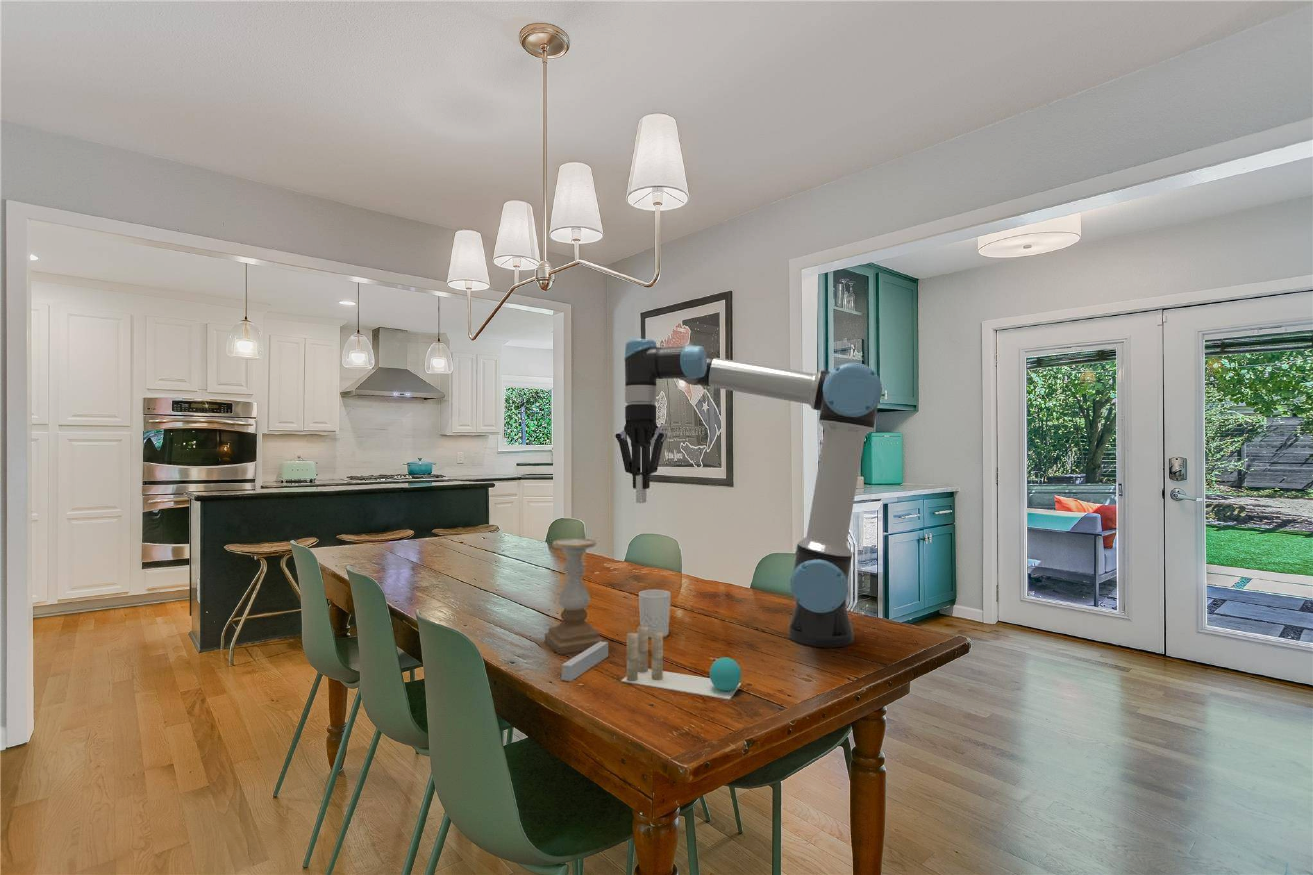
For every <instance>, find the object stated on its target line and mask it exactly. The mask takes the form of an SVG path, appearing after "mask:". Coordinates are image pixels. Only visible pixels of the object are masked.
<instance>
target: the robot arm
mask: <svg viewBox="0 0 1313 875" xmlns="http://www.w3.org/2000/svg"><path fill="white" fill-rule="evenodd" d="M624 352H625V354H624V359H623V360H624V371H625V372H624V377H625V379H624V383H625V384H624V385H625V388H624V396H625V397H624V402H625V403H626V404H627V405H626V406H624V414H625V416H624V417H625V423H624V427H623V430H622V431H621V432H619V433H616V434H615V435H614V437H615V438H616V440H617V442H618V445H619V448H620V453H621V457H622V463H623V466H624V467H623V468H624V471H625V473H628V474H630V475H631V476H632V488H633V489H634V490H635V504H646V503H647V489H648V490H649V489H650V484H651V482H650V480H651V478H650V477H651V475H652V474H654V473H657V472H658V470H659V469H658V468H659V465H660V464H659V463H660V459H661V455H662V451H663V444H664V442H665V441H666V439H667V438H668V433H666V432H662V431H661V430H660V429H659V426H658V424H657V406H656V403H657V380H663V379H664V380H665V379H668V380H669V379H670V380H671V379H673V380H674V379H678V380H681V381H682V382H684V383H686V384H688V385H692V386H703V387H709V388H716V389H721V390H726V391H733V392H738V393H744V394H750V395H754V396H759V397H766V398H772V399H778V400H784V401H789V402H793V403H800V404H803V405H805V404H806V405H809V406H810V408H811V409H812V410H815V411H819V412H820V413H819V420H818V423H819V424H820V425H821V427H822V428H823V430H824V431H823V437H822V444H821V450H820V455H819V460H818V461H819V462H818V468H817V471H816V472H817V473H816V478H815V484H814V490H813V491H814V492H813V497H812V503H811V508H810V513H809V520H808V526H807V532H806V536H805V537H804V538H802V539H801V540H799V541H798V542H797V544H796V546H795V548H796V549H795V554H794V555H795V560H794V566H793V572H792V574H791V577H790V581H789V582H790V589H791V592H792V595H793V597H794V598H795V602H796V603H795V607H794V610H793V613H792V616H791V619H790V622H789V625H788V637H789V639H790V640H792V641H794V642H796V643H799V644H800V645H801V644H802V645H805V646H809V647H814V648H815V647H816V648H830V649H831V648H842V647H847V646H851V644H853V643H854V641H855V640H854V639H855V638H854V636H855V635H854V629H853V626H852V623H851V620H850V616H849V614H848V610H847V596H848V592H849V585H848V584H849V581H848V580H849V575H850V571H851V570H850V569H851V563H852V558H853V557H852V556H853V552H852V551H851V549H850V547H848V545H847V543H848V537H849V531H850V526H851V520H852V514H853V509H854V503H855V497H856V491H857V490H856V489H857V485H858V479H859V473H860V468H861V460H862V455H863V450H864V449H863V448H864V445H865V437H866V436H867V435H868V434H870V433H871V432H872V431H874V428H875V423H876V418H877V417H876V416H877V411H878V406H879V403H880V400H881V398H882V395H883V394H882V393H883V384H882V382H881V379H880V377H879V375H878V373H876V372H875V371H874V370H873V369H872V368H871V367H869V366H868V365H866V364H863V363H860V362H845V363H843V364H840V365H838V366H836V367H835V368H833V369H832V370H831V371H829V370H828V371H827V370H822V369H820V370H819V371H817V372H816V373H813V372H807V371H806V372H805V371H800V370H795V369H787V368H782V367H775V366H769V365H763V364H757V363H749V362H745V361H738V360H734V359H727V358H721V357H720V358H719V357H713V356H709V355H708V356H707V352H706V350H705V348H704V346H701V345H692V344H690V345H689V344H688V345H684V346H683V345H681V346H667V347H658V346H657V341H655V340H654V339H652V338H651V339H650V338H634V339H630V340H628V341H627V342H626V343H625V351H624ZM653 438H655V440H654V443H653V447H652V440H653ZM627 439H629V440H630V445H629V442H628V440H627ZM630 447H631V450H630ZM651 447H652V452H651Z"/></svg>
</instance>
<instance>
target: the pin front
mask: <svg viewBox="0 0 1313 875" xmlns="http://www.w3.org/2000/svg"><path fill="white" fill-rule="evenodd" d="M663 657H664V637H663V633H662V632H653V633H652V638H651V669H652V679H653V680H661V679H663V671H664V668H663V667H664V658H663Z"/></svg>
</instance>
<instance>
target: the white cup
mask: <svg viewBox="0 0 1313 875" xmlns="http://www.w3.org/2000/svg"><path fill="white" fill-rule="evenodd" d="M671 594H672V593H671V592H670V591H668V590H663V589H645V590H641V591H639V592H638V608H639V623H640V626H647V627H648V639H649V638H651V639H652V633H653V632H662V633H663V638H665V637H667V636H668V635H669V627H670V616H671V596H672V595H671Z"/></svg>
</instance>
